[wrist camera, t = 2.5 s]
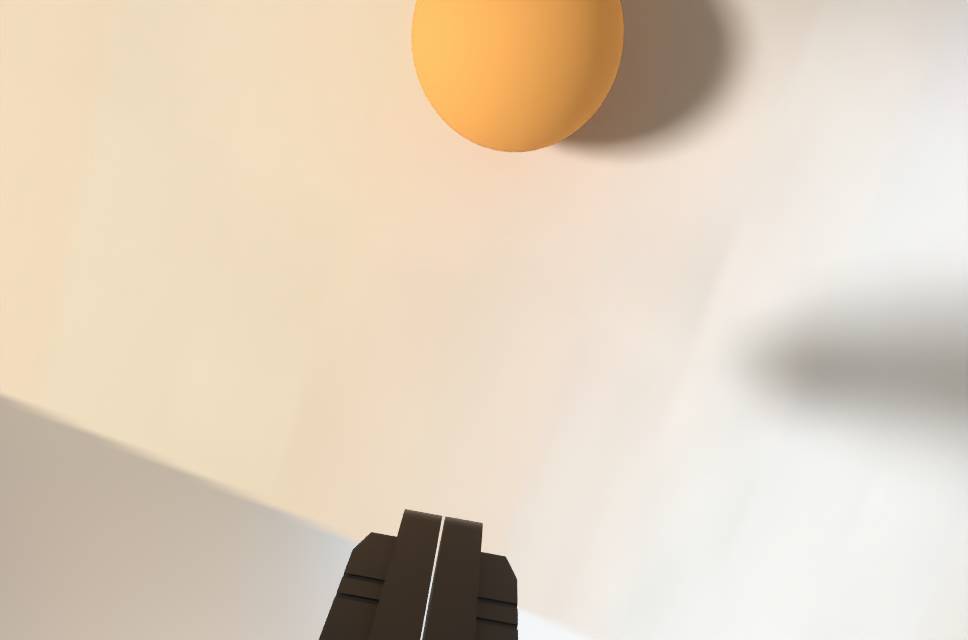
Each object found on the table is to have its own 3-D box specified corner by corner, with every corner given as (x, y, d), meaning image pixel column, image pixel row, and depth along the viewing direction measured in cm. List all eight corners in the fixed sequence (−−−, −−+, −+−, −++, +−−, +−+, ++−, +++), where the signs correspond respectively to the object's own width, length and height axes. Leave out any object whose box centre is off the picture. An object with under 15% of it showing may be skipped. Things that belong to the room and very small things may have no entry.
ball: (413, 130, 19) (378, 131, 14) (441, -65, 17) (413, -151, 12) (580, 163, 19) (610, 177, 14) (624, -27, 17) (679, -95, 12)
